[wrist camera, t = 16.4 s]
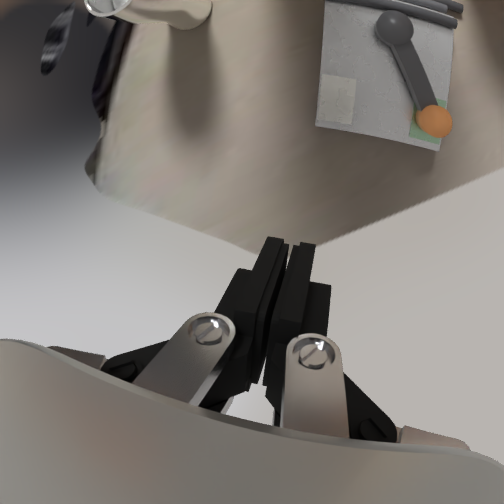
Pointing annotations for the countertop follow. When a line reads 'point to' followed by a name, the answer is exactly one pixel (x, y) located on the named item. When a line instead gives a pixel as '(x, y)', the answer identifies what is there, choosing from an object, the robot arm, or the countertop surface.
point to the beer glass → (153, 11)
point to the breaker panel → (377, 74)
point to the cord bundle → (418, 9)
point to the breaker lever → (413, 72)
